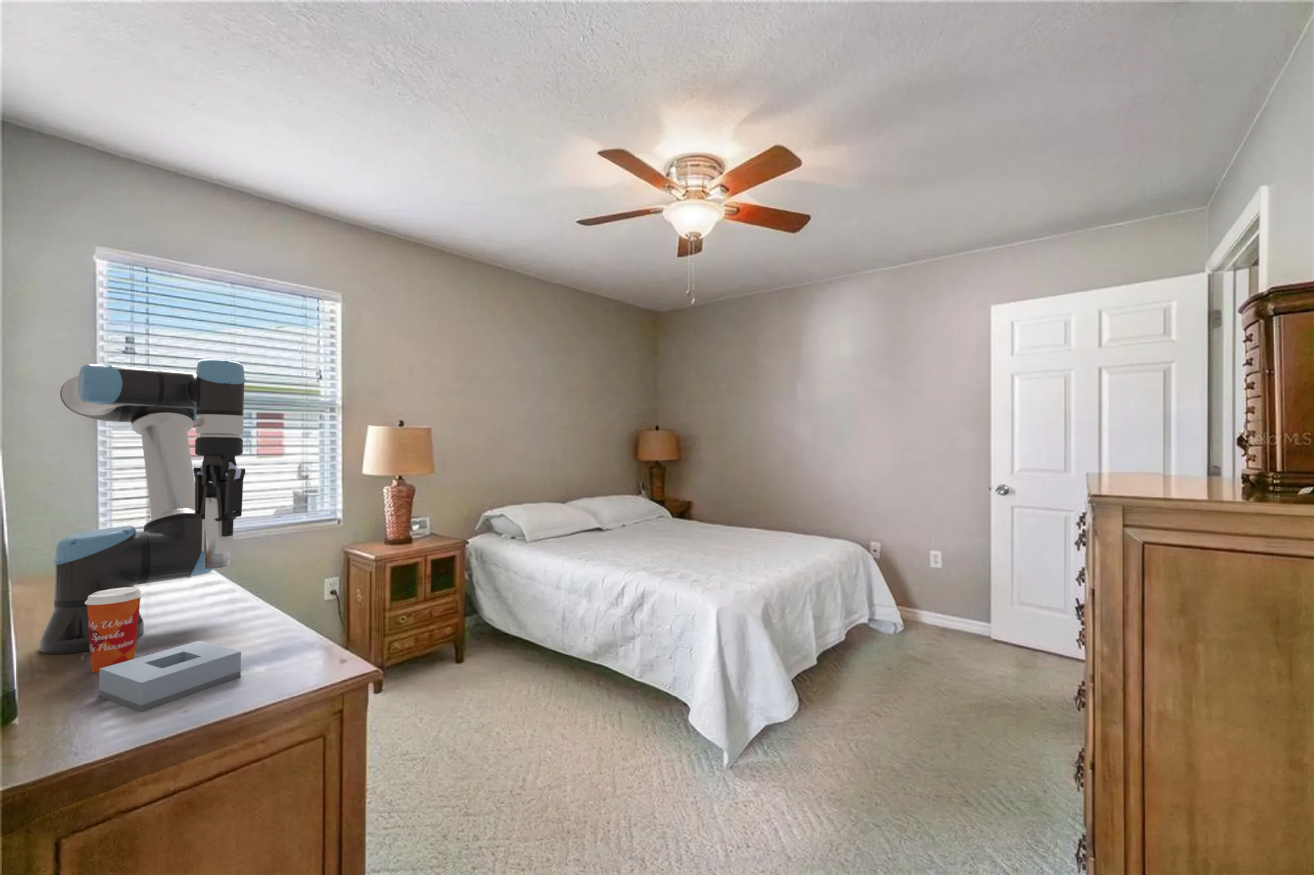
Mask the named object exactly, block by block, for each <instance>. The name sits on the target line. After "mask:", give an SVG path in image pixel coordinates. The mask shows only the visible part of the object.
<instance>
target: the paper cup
mask: <svg viewBox="0 0 1314 875" xmlns="http://www.w3.org/2000/svg"><path fill="white" fill-rule="evenodd" d="M143 597H144V594H143V593H142V590H140V588H139V587H135V586H134V587H126V588H115V589H109V590H103V591H99V592H95V593H93V594H91V595H89V596H88V599H87V601H86V602H85V604H87V611H88V629H89V644H90V650H89V655H90V656H89V658H90V670H91V672H92V673H99V672H100V668H104V667H107V666H111V665H114V664H118V663H122V662H125V661H129V660H132V659H135V654H136V646H137V638H138V637H137V628H138V618H139V612H140V607H141V606H140V605H141V598H143Z"/></svg>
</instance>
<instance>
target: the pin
mask: <svg viewBox="0 0 1314 875" xmlns="http://www.w3.org/2000/svg"><path fill="white" fill-rule="evenodd" d="M215 518H219V513H218V503H217V497H206V498H205V544H204V568H207V569H212V568H214V569H218V568H219V569H220V568H225V567H229V566H230V563H231V562H230V560H231V559H230V557H231V552H226V553H220V554H215V542H216V521H215Z"/></svg>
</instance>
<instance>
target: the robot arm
mask: <svg viewBox="0 0 1314 875" xmlns="http://www.w3.org/2000/svg"><path fill="white" fill-rule="evenodd" d="M244 368H245V367H244V366H243V364H241V362H238V361H233V360H225V359H216V358H215V359H214V358H213V359H210V358H207V359H200V360H199V361H198V362H197V365H196V371H195V372H188V371H186V372H185V371H178V370H177V371H176V370H167V369H166V370H164V369H150V368H142V367H141V368H140V367H133V366H131V367H128V366H120V365H119V366H118V365H112V364H106V363H105V364H96V363H95V364H94V363H93V364H92V363H87V364H84V365H82V366H81V367H80V371H79V373H78V375H76V376H73V377H72V378H69V379H67V380H66V381H65V382H64V383H63V384H62V386H61V388H60V391H59V397H60V400H61V402H62V404H63V405H64V407H66V408H67V409H68V410H69V411H71V412H73V413H75V414H77V415H79V416H81V417H86V418H89V419H93V420H98V421H104V422H112V423H113V422H117V423H120V422H121V423H131V428H132V431H133V432H134V433H136V434H138V435H139V436H140V435H141V442H142V450H143V460H144V468H145V476H146V485H147V494H148V502H149V510H150V517H151V518H150V520H148V521H147V522H146V523H145V524H144V525H143V531H137V529H136V527H134V526H130V525H125V526H123V525H122V526H117V527H114V526H113V527H105V528H100V529H99V528H98V529H94V530H90V531H84V532H80V533H75V534H72V535H69V536H67V537H63V539H61V540H60V541H59V542H58V543H57V544H56V548H55V556H54V560H53V564H54V566H55V567H54V568H55V570H54V571H55V572H54V573H55V574H54V597H53V598H54V599H53V600H54V601H53V612H52V613H51V616H50V618H49V619H48V622H47V625H46V626H45V628H44V631H43V632H42V635H41V637H40V640H39V652H41V653H43V654H49V655H50V654H54V655H55V654H56V655H57V654H70V653H73V654H74V653H79V652H81V653H82V652H86V651H90V644H89V629H88V611H87V604H85V602H86V601H87V599H88V596H89V595H91V594H93V593H95V592H99V591H103V590H109V589H115V588H126V587H135V586H139V585H145V584H152V583H158V582H165V581H166V582H167V581H173V580H177V579H178V580H179V579H185V578H186V579H190V578H192V577H197V576H202V575H207V574H210V573H211V572H212V571H213V570H214V569H215V568H212V569H207V568H204V544H205V498H206V497H217V503H218V513H219V518H215V521H216V542H215V554H220V553H226V552H230V553H232V552H234V520H236V519H237V518H238V517H242V514H243V491H244V490H243V489H244V478H245V475H246V469H245V467H244V468H243V467H241V468H239V467H238V466H237V461H236V457H237V456H238V457H239V456H242V454H243V453H244V439H243V438H242V437H240V436H242V435H244V418H245V416H244V408H245V406H244V403H245V402H244V401H245V400H244V399H245V382H246V378H245V369H244ZM194 425H195V433H196V435H199V437H196V438H195V440H194V443H195V444H194V453H195V455H196V456H199V457H201V456H202V457H203V458H202V459H203V460H202V463H201V466H195V467H193V461H192V454H191V449H190V442H189V434H188V432H189V431H190V430H192V429H193V427H194ZM144 622H145V621H144V619H143V617H142V615H141V613H140V611H139V618H138V628H137V638H138V637H140V636H141V635H143V633H144V630H145V623H144Z"/></svg>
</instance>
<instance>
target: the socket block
mask: <svg viewBox="0 0 1314 875" xmlns="http://www.w3.org/2000/svg"><path fill="white" fill-rule="evenodd" d="M241 663H242V651H240V650H237V649H235V648H234V649H233V648H230V647H226V646H222V645H219V644H218V645H217V644H214V643H210V642H206V641H203V640H197V641H193V642H190V643H187V644H181V645H179V646H175V647H172V648H169V649H165V650H161V651H158V652H154V653H151V654H147V655H146V654H145V655H143V656H139V657H137V658H134V659H132V660H129V661H125V662H122V663H118V664H114V665H111V666H107V667H104V668H100V672H99V675H98V676H99V678H98V681H99V683H98V696H99V697H101V698H104V699H106V700H109V701H111V702H113V703H116V704H119V705H122V706H123V707H127V708H130V709H132V710H135V711H136V712H137V711H138V712H140V713H141V712H143V711H147V710H149V709H152V708H155V707H158V706H161V705H164V704H166V703H170V702H173V701H176V700H178V699H180V698H184V697H187V696H189V695H191V694H195V693H198V692H200V691H203V690H207V689H209V688H212V687H214V686H217V685H220V684H224V683H226V682H229V681H232V680H234V679H237V678H240V677H241V672H242V671H241V670H242V668H241V667H242V664H241Z"/></svg>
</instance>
